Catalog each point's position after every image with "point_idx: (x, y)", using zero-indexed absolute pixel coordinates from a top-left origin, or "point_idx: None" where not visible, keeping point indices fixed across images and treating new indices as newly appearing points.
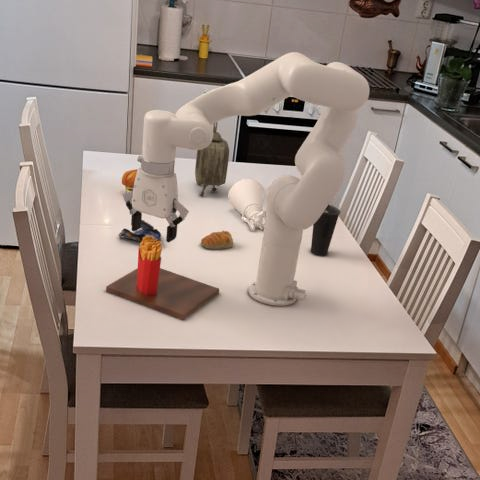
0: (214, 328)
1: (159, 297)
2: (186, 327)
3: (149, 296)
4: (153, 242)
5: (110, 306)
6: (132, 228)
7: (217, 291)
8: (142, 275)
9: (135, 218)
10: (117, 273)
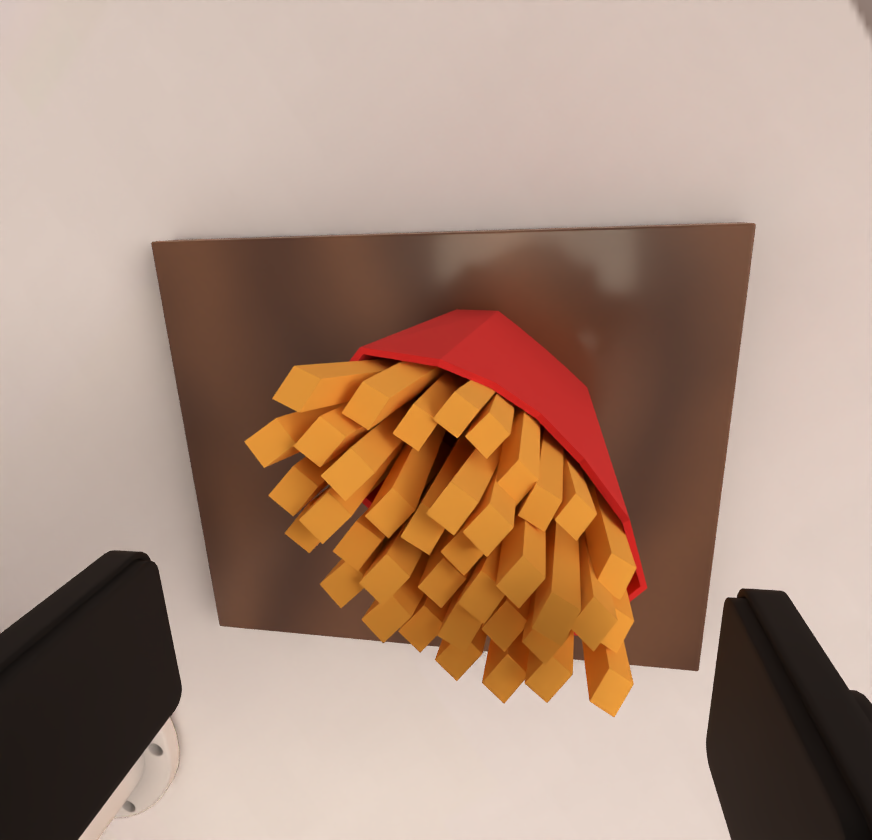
0: (24, 282)
1: (378, 335)
2: (112, 182)
3: (431, 304)
4: (440, 586)
5: (598, 58)
6: (779, 612)
7: (219, 603)
8: (491, 339)
9: (821, 808)
10: (811, 497)
